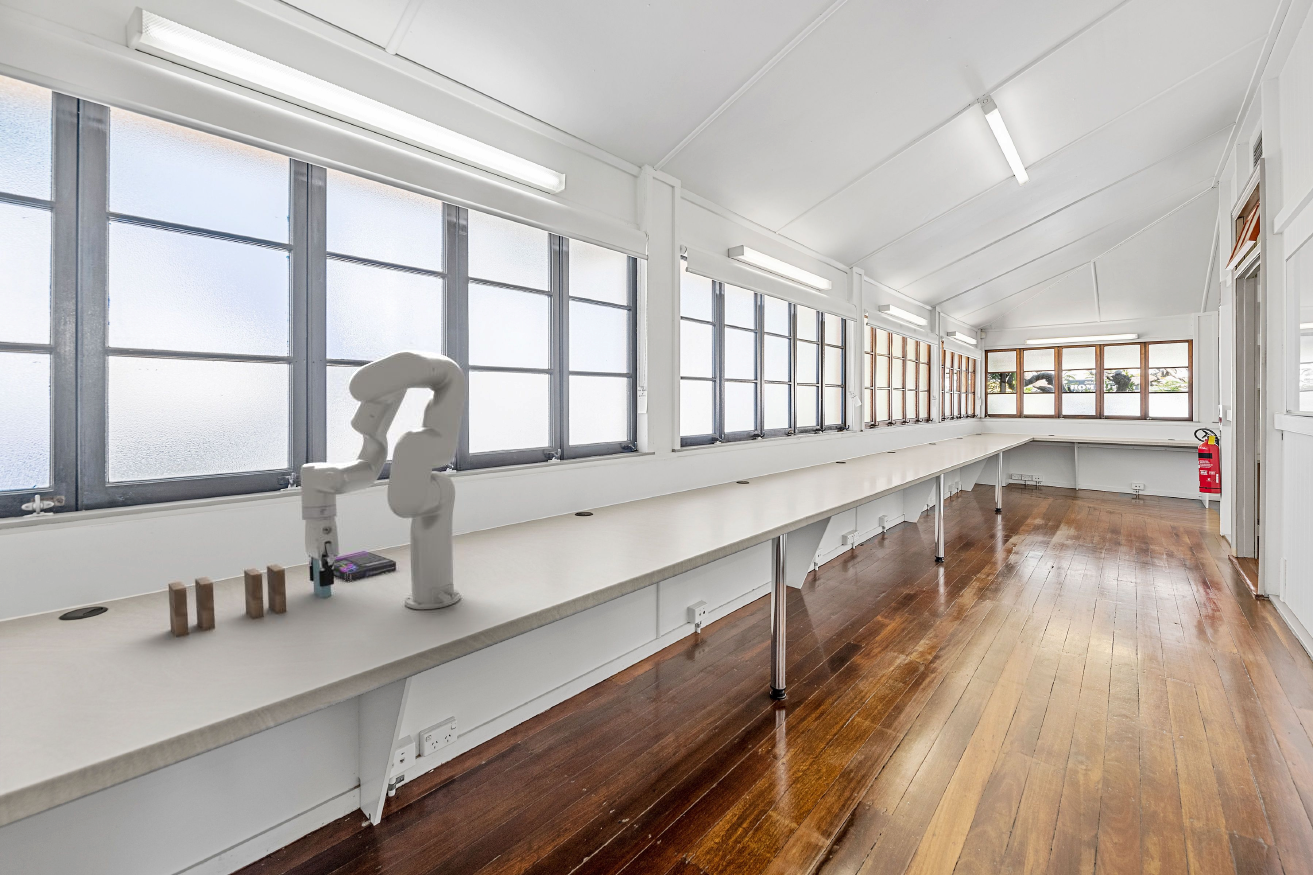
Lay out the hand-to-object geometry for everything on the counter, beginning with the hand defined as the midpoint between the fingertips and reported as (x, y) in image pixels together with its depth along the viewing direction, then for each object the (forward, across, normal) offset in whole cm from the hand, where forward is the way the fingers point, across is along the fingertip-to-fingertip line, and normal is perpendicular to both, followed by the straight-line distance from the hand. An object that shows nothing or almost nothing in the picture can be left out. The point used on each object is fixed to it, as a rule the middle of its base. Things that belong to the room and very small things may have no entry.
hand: (321, 582), depth 147 cm
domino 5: (+3, 0, 0) cm, 3 cm away
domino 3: (+3, -4, +16) cm, 16 cm away
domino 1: (+3, -4, +29) cm, 29 cm away
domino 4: (+3, -4, +11) cm, 12 cm away
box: (+4, +16, -14) cm, 22 cm away
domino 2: (+3, -4, +24) cm, 25 cm away
